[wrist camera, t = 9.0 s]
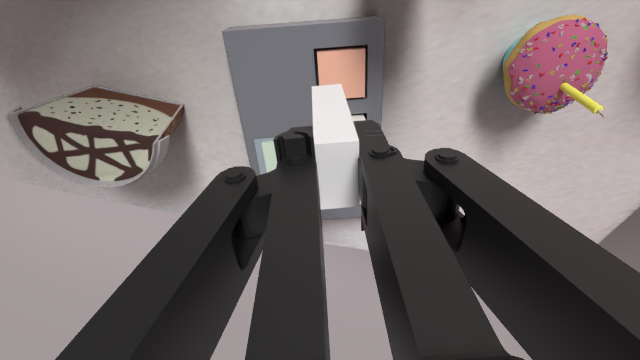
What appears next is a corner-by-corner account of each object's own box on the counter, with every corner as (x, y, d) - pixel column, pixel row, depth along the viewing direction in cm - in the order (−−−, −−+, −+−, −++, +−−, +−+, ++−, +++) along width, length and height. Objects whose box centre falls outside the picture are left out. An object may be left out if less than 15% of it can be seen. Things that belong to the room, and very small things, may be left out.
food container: (87, 134, 36) (18, 179, 28) (78, 81, 33) (-3, 114, 24) (196, 154, 38) (162, 203, 29) (197, 106, 35) (160, 145, 26)
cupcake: (546, 99, 35) (642, 145, 25) (472, 97, 35) (539, 142, 24) (583, 13, 30) (719, 26, 20) (498, 9, 30) (593, 20, 20)
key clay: (316, 48, 30) (316, 52, 28) (361, 44, 30) (365, 49, 28) (319, 92, 33) (320, 100, 31) (361, 90, 33) (364, 96, 30)
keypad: (230, 27, 30) (220, 32, 27) (378, 15, 30) (386, 19, 27) (266, 206, 42) (261, 225, 39) (373, 199, 42) (378, 218, 38)
